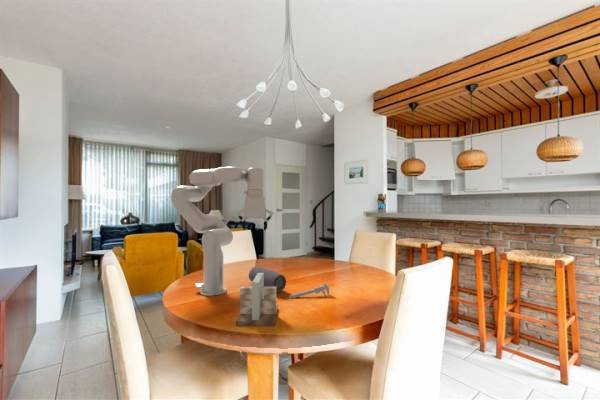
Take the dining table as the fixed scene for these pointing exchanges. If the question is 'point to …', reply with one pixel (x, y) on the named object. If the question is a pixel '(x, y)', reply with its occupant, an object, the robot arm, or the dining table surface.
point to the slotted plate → (257, 295)
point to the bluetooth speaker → (269, 278)
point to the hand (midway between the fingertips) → (254, 229)
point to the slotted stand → (266, 307)
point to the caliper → (312, 291)
